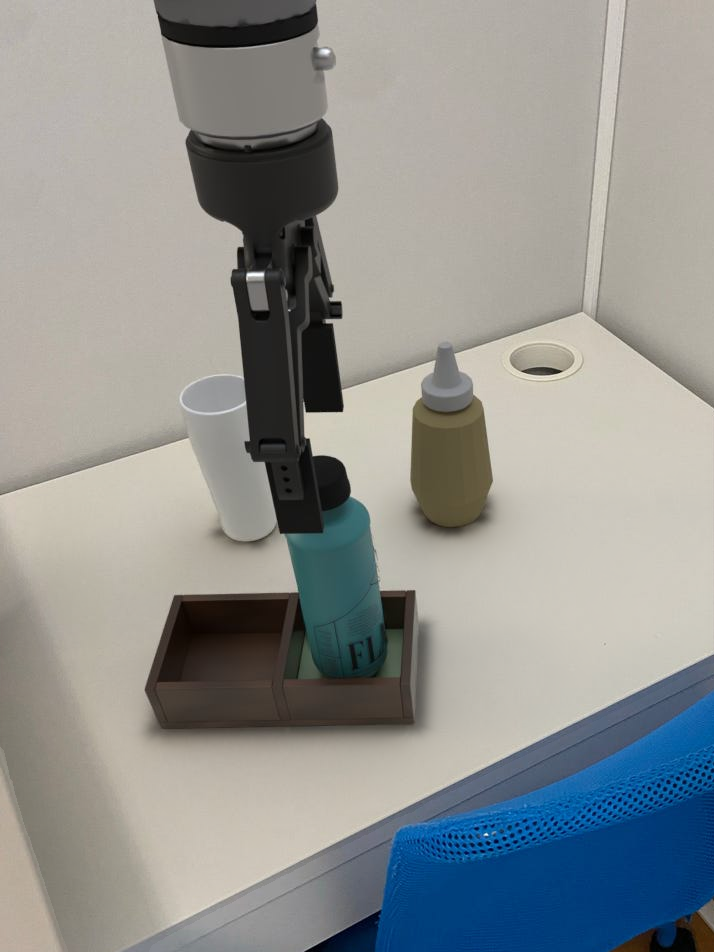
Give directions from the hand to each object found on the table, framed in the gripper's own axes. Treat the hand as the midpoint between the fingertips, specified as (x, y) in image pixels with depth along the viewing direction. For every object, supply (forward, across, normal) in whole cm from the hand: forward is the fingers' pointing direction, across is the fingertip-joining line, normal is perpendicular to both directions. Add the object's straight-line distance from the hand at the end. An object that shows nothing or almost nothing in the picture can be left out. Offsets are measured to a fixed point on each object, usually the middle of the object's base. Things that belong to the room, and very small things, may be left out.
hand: (314, 465), depth 63 cm
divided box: (+21, 0, +4) cm, 22 cm away
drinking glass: (+22, +20, +12) cm, 31 cm away
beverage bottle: (+20, 0, 0) cm, 20 cm away
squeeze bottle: (+22, +22, -8) cm, 32 cm away
